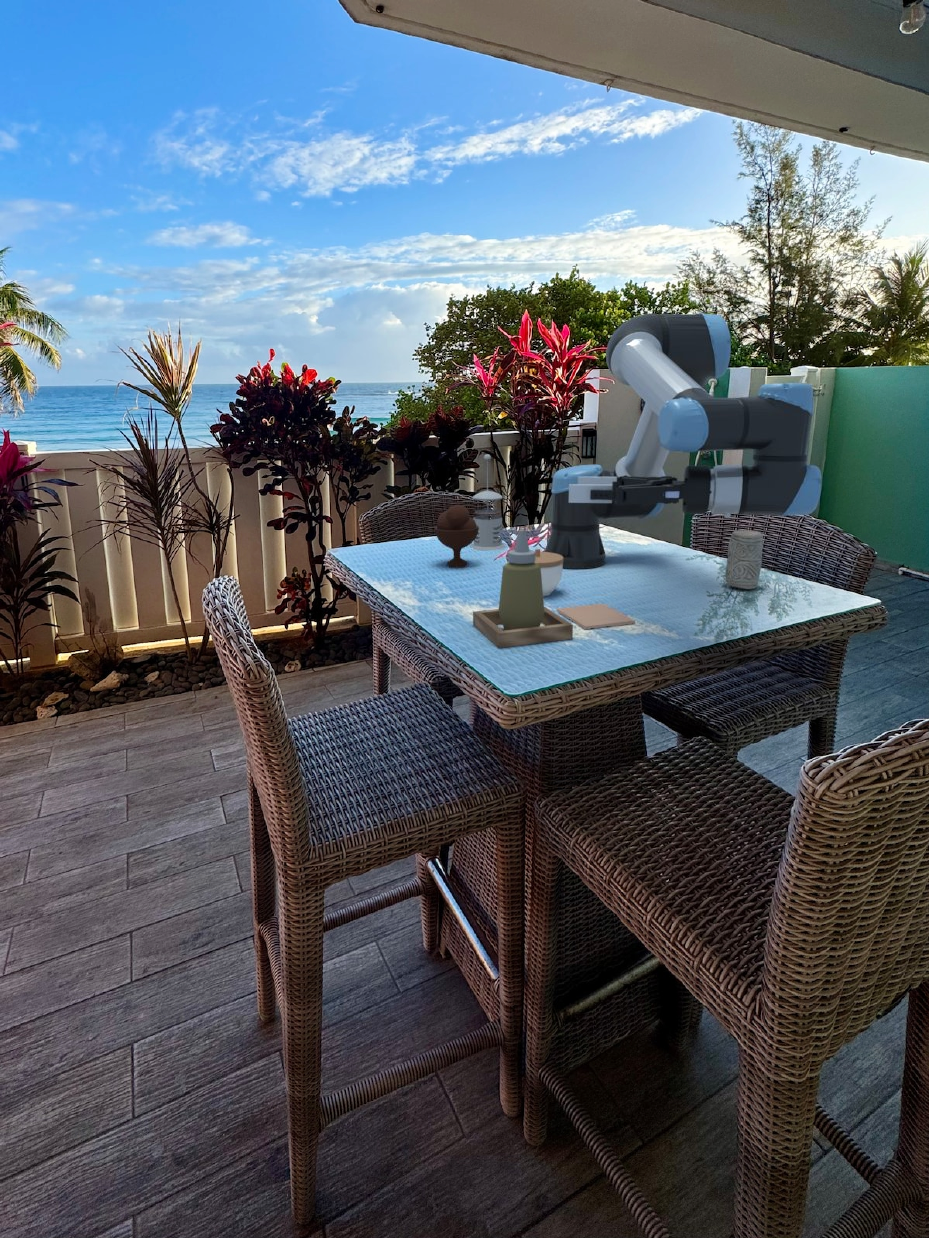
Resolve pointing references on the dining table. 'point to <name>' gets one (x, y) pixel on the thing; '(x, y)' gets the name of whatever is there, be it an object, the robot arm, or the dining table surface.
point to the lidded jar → (549, 570)
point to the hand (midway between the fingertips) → (573, 489)
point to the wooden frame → (551, 632)
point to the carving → (744, 559)
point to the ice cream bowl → (456, 532)
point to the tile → (595, 616)
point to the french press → (488, 521)
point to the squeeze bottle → (521, 588)
